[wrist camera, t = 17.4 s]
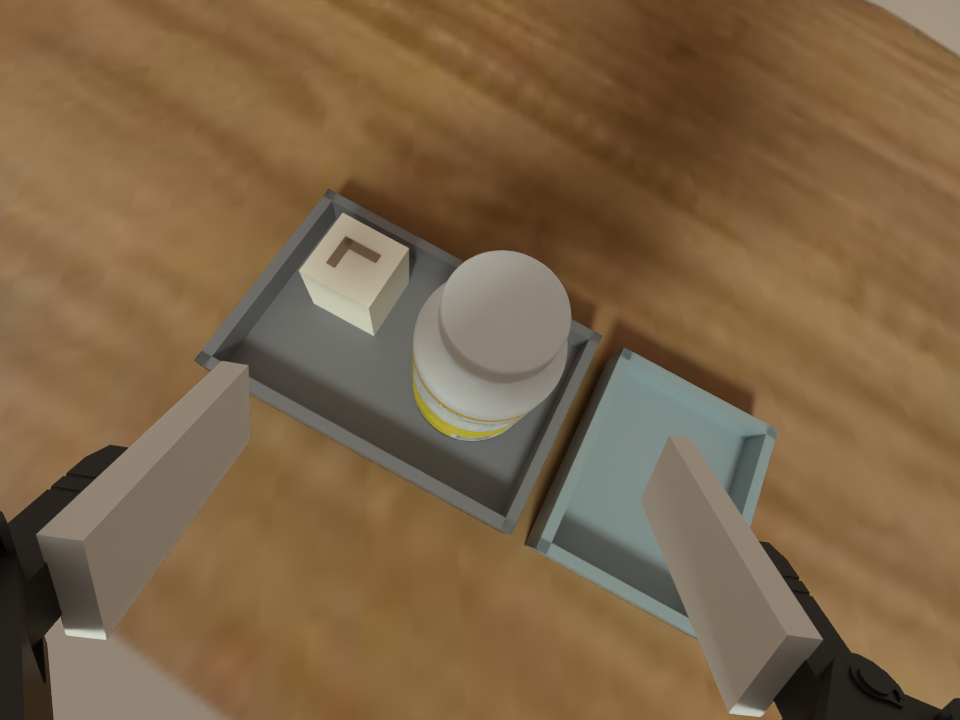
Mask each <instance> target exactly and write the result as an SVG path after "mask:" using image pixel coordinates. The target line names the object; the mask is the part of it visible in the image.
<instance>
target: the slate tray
mask: <svg viewBox="0 0 960 720" xmlns="http://www.w3.org/2000/svg"><path fill="white" fill-rule="evenodd" d="M777 432H778V430H777V429H775V428H774V427H772V426H770V425H768V424H766V423H764V422H762V421H761V420H759V419H757V418H755V417H753V416H751V415H749V414H747V413H746V412H744V411H742V410H740V409H738V408H736V407H734V406H733V405H731V404H729V403H727V402H725V401H723V400H721V399H720V398H718V397H716V396H714V395H712V394H710V393H708V392H706V391H705V390H703V389H701V388H699V387H697V386H695V385H693V384H692V383H690V382H688V381H686V380H684V379H682V378H680V377H678V376H677V375H675V374H673V373H671V372H669V371H667V370H665V369H664V368H662V367H660V366H658V365H656V364H654V363H652V362H651V361H649V360H647V359H645V358H643V357H641V356H639V355H637V354H636V353H634V352H632V351H630V350H628V349H626V348H622V349H621V350H620V351H618V352H617V353H616V354H615V355H613V356H612V357H611V358H609V359H608V360H607V362H606V364H605V366H604V369H603V371H602V373H601V375H600V378H599V380H598V382H597V384H596V387H595V389H594V391H593V393H592V396H591V398H590V400H589V402H588V404H587V407H586V409H585V411H584V413H583V416H582V418H581V420H580V422H579V425H578V427H577V429H576V431H575V434H574V436H573V438H572V440H571V443H570V445H569V447H568V449H567V452H566V454H565V456H564V458H563V460H562V463H561V465H560V467H559V469H558V472H557V474H556V476H555V478H554V481H553V483H552V485H551V487H550V490H549V492H548V494H547V496H546V499H545V501H544V503H543V505H542V508H541V510H540V512H539V514H538V516H537V519H536V521H535V523H534V525H533V528H532V530H531V532H530V534H529V537H528V539H527V541H526V543H525V546H527V547H529V548H530V549H532V550H534V551H536V552H538V553H540V554H541V555H543V556H545V557H547V558H549V559H550V560H552V561H554V562H556V563H558V564H560V565H561V566H563V567H565V568H567V569H569V570H570V571H572V572H574V573H576V574H578V575H580V576H581V577H583V578H585V579H587V580H589V581H590V582H592V583H594V584H596V585H598V586H600V587H601V588H603V589H605V590H607V591H609V592H610V593H612V594H614V595H616V596H618V597H620V598H621V599H623V600H625V601H627V602H629V603H630V604H632V605H634V606H636V607H638V608H640V609H641V610H643V611H645V612H647V613H649V614H651V615H652V616H654V617H656V618H658V619H660V620H661V621H663V622H665V623H667V624H669V625H671V626H672V627H674V628H676V629H678V630H680V631H681V632H683V633H685V634H687V635H689V636H691V637H694V638H696V639H697V636H696V634H695V631H694V629H693V627H692V624H691V622H690V619H689V617H688V615H687V612H686V610H685V607H684V605H683V603H682V600H681V598H680V595H679V593H678V591H677V588H676V586H675V583H674V581H673V578H672V576H671V574H670V571H669V569H668V566H667V564H666V562H665V559H664V557H663V554H662V552H661V550H660V547H659V545H658V542H657V540H656V538H655V535H654V533H653V530H652V528H651V526H650V523H649V521H648V518H647V516H646V513H645V511H644V509H643V506H642V504H641V501H640V500H641V497H642V495H643V493H644V491H645V488H646V486H647V484H648V482H649V479H650V477H651V475H652V473H653V471H654V468H655V466H656V464H657V462H658V459H659V457H660V455H661V453H662V451H663V448H664V446H665V444H666V442H667V439H668V437H669V436H675V437H681V438H687V439H692V440H693V442H694V443H695V445H696V446H697V448H698V449H699V451H700V452H701V454H702V456H703V457H704V459H705V460H706V462H707V463H708V465H709V466H710V468H711V469H712V471H713V472H714V474H715V475H716V477H717V478H718V480H719V481H720V483H721V484H722V486H723V488H724V489H725V491H726V492H727V494H728V495H729V497H730V498H731V500H732V501H733V503H734V504H735V506H736V507H737V509H738V510H739V512H740V513H741V515H742V516H743V518H744V520H745V521H746V523H747V524H748V526H749V527H750V526H751V522H752V519H753V515H754V512H755V508H756V505H757V502H758V498H759V495H760V491H761V488H762V484H763V481H764V477H765V474H766V470H767V467H768V463H769V460H770V457H771V453H772V450H773V446H774V443H775V439H776V436H777Z"/></svg>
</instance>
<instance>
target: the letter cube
mask: <svg viewBox="0 0 960 720" xmlns="http://www.w3.org/2000/svg"><path fill="white" fill-rule="evenodd" d="M299 272H300V274H301V277H302V279H303V281H304V283H305V285H306V288H307V290H308V292H309V294H310V296H311V299H312V301H313V303H314V304H316V305H317V306H319V307H321V308H323V309H325V310H327V311H329V312H330V313H332V314H334V315H336V316H338V317H340V318H341V319H343V320H345V321H347V322H349V323H351V324H352V325H354V326H356V327H358V328H360V329H362V330H364V331H365V332H367V333H369V334H371V335H373V336H375V334H376V333H377V331H378V330H379V328H380V327H381V325H382V323H383V322H384V320H385V319H386V317H387V316H388V314H389V313H390V311H391V310H392V308H393V307H394V305H395V304H396V302H397V300H398V299H399V297H400V296H401V294H402V293H403V291H404V290H405V288H406V287H407V285H408V284H409V248H408V247H406V246H404V245H402V244H400V243H398V242H396V241H395V240H393V239H391V238H389V237H387V236H385V235H383V234H381V233H380V232H378V231H376V230H374V229H372V228H370V227H368V226H367V225H365V224H363V223H361V222H359V221H357V220H355V219H354V218H352V217H350V216H348V215H346V214H344V213H342V214H341V216H340V217H339V218H338V220H337V221H336V222H335V224H334V225H333V226H332V227H331V229H330V230H329V231H328V233H327V234H326V235H325V237H324V238H323V239H322V241H321V242H320V243H319V245H318V246H317V247H316V249H315V250H314V251H313V253H312V254H311V255H310V257H309V258H308V259H307V261H306V262H305V263H304V264H303V266H302V267H301V268H300V270H299Z"/></svg>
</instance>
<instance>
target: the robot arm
mask: <svg viewBox="0 0 960 720" xmlns="http://www.w3.org/2000/svg"><path fill="white" fill-rule="evenodd" d="M249 441H250V412H249V368H248V365H244V364H238V363H232V362H226V361H221V362H220V363H219V364H218V365H217V366H216V367H215V368H214V369H213V370H212V371H210V372H209V373H208V374H207V375H206V376H205V377H204V378H203V379H202V380H201V381H200V382H199V383H198V384H197V385H195V386H194V387H193V388H192V389H191V390H190V391H189V392H188V393H187V394H186V395H185V396H184V397H183V398H182V399H180V400H179V401H178V402H177V403H176V404H175V405H174V406H173V407H172V408H171V409H170V410H169V411H168V412H167V413H166V414H164V415H163V416H162V417H161V418H160V419H159V420H158V421H157V422H156V423H155V424H154V425H153V426H152V427H151V428H149V429H148V430H147V431H146V432H145V433H144V434H143V435H142V436H141V437H140V438H139V439H138V440H137V441H136V442H135V443H133V444H132V445H131V446H130V447H129V448H127V447H121V446H114V445H109V446H107V447H105V448H103V449H101V450H99V451H97V452H95V453H93V454H91V455H89V456H87V457H85V458H84V459H83V460H81V461H80V462H79V463H78V464H77V465H76V466H74V467H73V468H72V469H71V470H70V471H69V472H67V475H66V476H63V477H61V478H60V479H59V480H58V481H57V482H56V483H54V484H53V485H52V486H51V489H50V490H46V491H45V492H44V493H43V494H42V495H40V496H39V497H38V498H37V499H36V500H35V501H33V502H32V503H31V504H30V505H29V506H28V507H26V508H25V509H24V510H23V511H22V512H21V513H19V514H18V515H17V516H16V517H15V518H14V519H12V520H11V521H10V522H9V523H8V524H7V521H6V519H5V517H4V515H3V513H2V512H1V511H0V720H53V709H52V697H51V685H50V672H49V660H48V648H47V642H46V639H45V637H44V635H45V634H46V633H47V632H48V630H49V629H50V628H51V627H52V626H53V625H54V623H55V622H56V621H57V620H58V619H59V617H60V616H61V620H62V623H63V626H64V630H65V633H66V635H69V636H78V637H87V638H95V639H103V640H107V639H108V637H109V636H110V635H111V633H112V632H113V631H114V629H115V628H116V626H117V625H118V624H119V622H120V621H121V619H122V618H123V617H124V615H125V614H126V612H127V611H128V610H129V608H130V607H131V605H132V604H133V603H134V601H135V600H136V598H137V597H138V596H139V594H140V593H141V592H142V590H143V589H144V587H145V586H146V585H147V583H148V582H149V580H150V579H151V578H152V576H153V575H154V573H155V572H156V571H157V569H158V568H159V566H160V565H161V564H162V562H163V561H164V559H165V558H166V557H167V555H168V554H169V553H170V551H171V550H172V548H173V547H174V546H175V544H176V543H177V541H178V540H179V539H180V537H181V536H182V534H183V533H184V532H185V530H186V529H187V527H188V526H189V525H190V523H191V522H192V520H193V519H194V518H195V516H196V515H197V514H198V512H199V511H200V509H201V508H202V507H203V505H204V504H205V502H206V501H207V500H208V498H209V497H210V495H211V494H212V493H213V491H214V490H215V488H216V487H217V486H218V484H219V483H220V481H221V480H222V479H223V477H224V476H225V475H226V473H227V472H228V470H229V469H230V468H231V466H232V465H233V463H234V462H235V461H236V459H237V458H238V456H239V455H240V454H241V452H242V451H243V449H244V448H245V447H246V445H247V444H248V443H249ZM640 501H641V504H642V506H643V509H644V511H645V513H646V516H647V518H648V521H649V523H650V526H651V528H652V530H653V533H654V535H655V538H656V540H657V542H658V545H659V547H660V550H661V552H662V554H663V557H664V559H665V562H666V564H667V566H668V569H669V571H670V574H671V576H672V578H673V581H674V583H675V586H676V588H677V591H678V593H679V595H680V598H681V600H682V603H683V605H684V607H685V610H686V612H687V615H688V617H689V619H690V622H691V624H692V627H693V629H694V631H695V634H696V636H697V639H698V641H699V643H700V646H701V648H702V651H703V653H704V655H705V658H706V660H707V663H708V665H709V668H710V670H711V672H712V675H713V677H714V680H715V682H716V684H717V687H718V689H719V692H720V694H721V696H722V699H723V701H724V704H725V706H726V708H727V711H728V713H731V714H739V715H748V716H756V717H761V716H762V715H763V714H764V713H765V711H766V710H767V709H768V708H769V706H770V705H771V704H772V703H773V701H774V702H775V704H776V706H777V708H778V710H779V712H780V714H781V716H782V718H783V719H782V720H960V698H954V699H953V700H952V701H951V702H950V703H949V704H947V705H946V706H945V707H944V708H943V709H942V710H941V709H939V708H936V707H934V706H931V705H929V704H927V703H924V702H922V701H920V700H917V699H915V698H912V697H910V696H908V695H905V694H904V693H903V691H902V690H901V688H900V687H899V685H898V684H897V683H896V682H895V681H894V680H893V679H892V678H891V677H890V676H889V675H888V674H887V672H885V671H884V670H883V669H881V668H880V667H879V666H877V665H876V664H875V663H873V662H872V661H870V660H868V659H866V658H864V657H863V656H861V655H859V654H855V653H851V652H850V650H849V649H848V647H847V646H846V644H845V643H844V642H843V640H842V639H841V637H840V636H839V634H838V633H837V631H836V630H835V629H834V627H833V626H832V624H831V623H830V621H829V620H828V618H827V617H826V616H825V614H824V613H823V611H822V610H821V608H820V607H819V605H818V604H817V603H816V601H815V600H814V598H813V597H812V596H810V595H809V593H810V592H809V591H808V590H807V588H806V587H805V585H804V584H803V582H802V581H799V577H798V575H797V574H796V572H795V571H794V569H793V568H792V566H791V565H790V564H789V562H788V561H787V559H786V558H785V557H783V556H782V555H781V554H780V553H779V552H778V551H777V550H776V549H775V548H774V547H773V546H772V545H771V544H770V543H768V542H761V541H758V539H757V538H756V536H755V535H754V533H753V532H752V530H751V529H750V527H749V526H748V524H747V523H746V521H745V520H744V518H743V516H742V515H741V513H740V512H739V510H738V509H737V507H736V506H735V504H734V503H733V501H732V500H731V498H730V497H729V495H728V494H727V492H726V491H725V489H724V488H723V486H722V484H721V483H720V481H719V480H718V478H717V477H716V475H715V474H714V472H713V471H712V469H711V468H710V466H709V465H708V463H707V462H706V460H705V459H704V457H703V456H702V454H701V452H700V451H699V449H698V448H697V446H696V445H695V443H694V442H693V440H692V439H687V438H681V437H675V436H669V437H668V439H667V442H666V444H665V446H664V448H663V451H662V453H661V455H660V457H659V459H658V462H657V464H656V466H655V468H654V471H653V473H652V475H651V477H650V479H649V482H648V484H647V486H646V488H645V491H644V493H643V495H642V497H641V500H640Z"/></svg>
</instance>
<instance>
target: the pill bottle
mask: <svg viewBox="0 0 960 720" xmlns="http://www.w3.org/2000/svg"><path fill="white" fill-rule="evenodd" d="M570 327H571V308H570V303H569V299H568V296H567V293H566V291H565V288H564V287H563V285H562V283H561V282H560V280H559V279H558V278H557V277H556V275H555V274H554V273H553V272H552V271H551V270H550V269H549V268H548V267H547V266H545V265H544V264H543V263H541V262H540V261H538V260H536V259H534V258H532V257H530V256H528V255H525V254H522V253H518V252H515V251H505V250H499V251H489V252H485V253H481V254H478V255H476V256H474V257H472V258H470V259H468V260H466V261H465V262H464V263H462V264H461V265H460V266H459V267H458V268H457V269H456V270H455V271H454V272H453V273H452V274H451V276H450V277H449V279H448V281H447V282H445V283H444V284H443V285H441V286H440V287H439V288H438V289H437V290H435V291H434V292H433V293H432V295H431V296H430V297H429V298H428V300H427V301H426V302H425V304H424V305H423V307H422V309H421V311H420V313H419V315H418V318H417V321H416V324H415V329H414V336H413V393H414V398H415V401H416V405H417V407H418V409H419V411H420V413H421V415H422V416H423V418H424V419H425V420H426V421H427V423H428V424H429V425H430V426H431V427H432V428H434V429H435V430H436V431H437V432H439V433H441V434H442V435H444V436H446V437H448V438H451V439H454V440H458V441H463V442H480V441H485V440H489V439H492V438H494V437H496V436H499V435H500V434H502V433H503V432H505V431H506V430H507V429H509V428H510V427H511V426H512V425H513V424H514V423H516V422H517V421H518V420H519V419H521V418H522V417H523V416H524V415H526V414H527V413H528V412H530V411H531V410H532V409H533V408H535V407H536V406H537V405H539V404H540V403H541V402H542V401H544V400H545V399H546V398H547V397H548V396H549V394H550V393H551V392H552V391H553V390H554V388H555V387H556V385H557V384H558V382H559V380H560V378H561V376H562V374H563V371H564V368H565V364H566V360H567V351H568V343H567V338H568V335H569V332H570Z"/></svg>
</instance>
